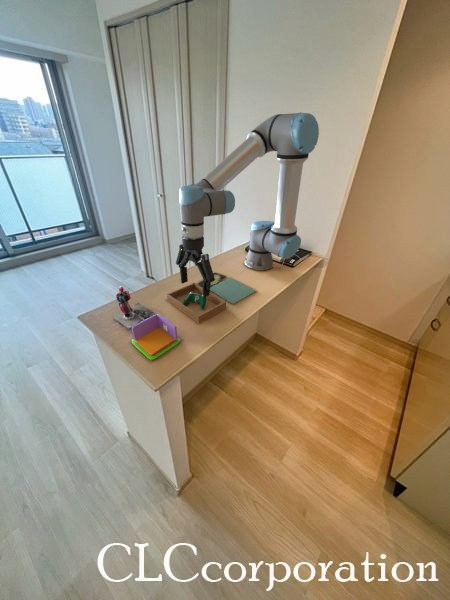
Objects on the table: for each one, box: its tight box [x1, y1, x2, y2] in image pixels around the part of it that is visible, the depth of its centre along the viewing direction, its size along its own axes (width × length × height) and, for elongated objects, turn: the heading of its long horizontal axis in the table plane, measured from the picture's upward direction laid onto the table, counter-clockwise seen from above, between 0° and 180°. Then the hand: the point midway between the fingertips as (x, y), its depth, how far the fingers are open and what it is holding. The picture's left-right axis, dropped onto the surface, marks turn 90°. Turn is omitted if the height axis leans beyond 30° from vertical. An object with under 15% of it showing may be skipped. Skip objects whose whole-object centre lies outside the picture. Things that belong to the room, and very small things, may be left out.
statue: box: [113, 285, 155, 331], centre depth 85 cm, size 11×9×15 cm
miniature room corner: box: [131, 313, 181, 361], centre depth 77 cm, size 12×12×7 cm
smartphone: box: [196, 272, 227, 288], centre depth 114 cm, size 7×1×15 cm
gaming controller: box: [182, 291, 208, 310], centre depth 97 cm, size 9×4×6 cm
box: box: [166, 282, 227, 324], centre depth 97 cm, size 14×20×3 cm
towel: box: [210, 277, 257, 305], centre depth 107 cm, size 15×16×1 cm
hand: (194, 288), depth 93 cm, fingers open, 13 cm apart
